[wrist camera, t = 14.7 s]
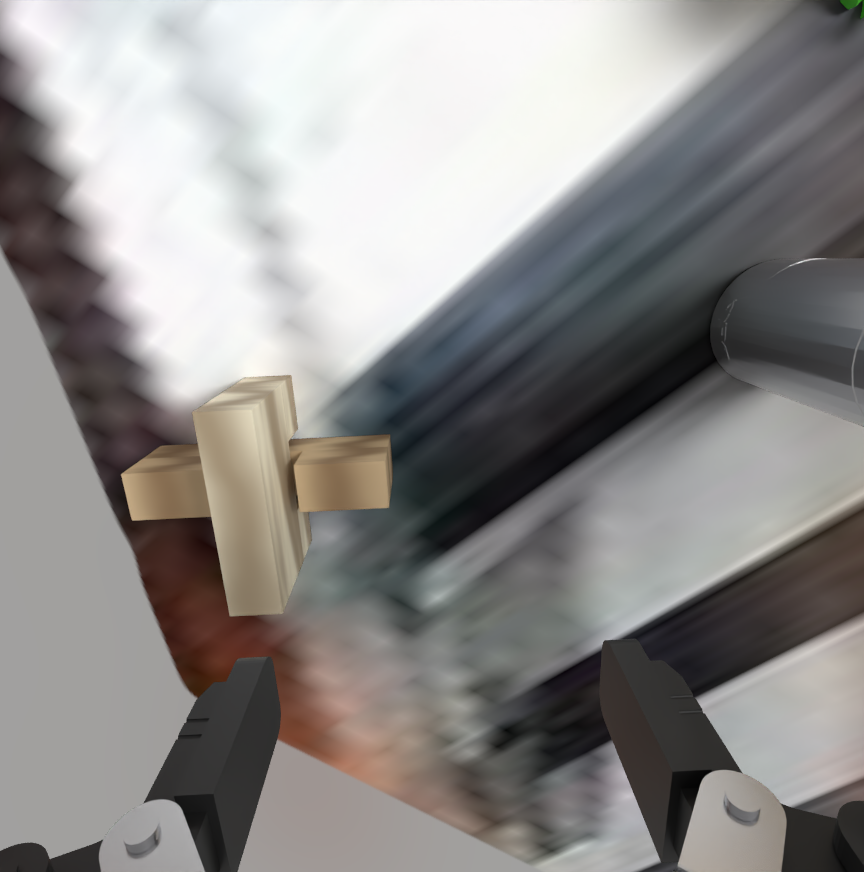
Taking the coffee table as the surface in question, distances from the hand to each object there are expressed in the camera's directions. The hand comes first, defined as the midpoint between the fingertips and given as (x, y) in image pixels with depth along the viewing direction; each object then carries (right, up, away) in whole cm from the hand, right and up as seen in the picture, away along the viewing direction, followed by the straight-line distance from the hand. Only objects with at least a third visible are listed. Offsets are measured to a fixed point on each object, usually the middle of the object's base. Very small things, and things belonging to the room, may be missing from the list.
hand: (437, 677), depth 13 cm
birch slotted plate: (-12, +4, +30) cm, 33 cm away
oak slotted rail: (-12, +4, +30) cm, 33 cm away
